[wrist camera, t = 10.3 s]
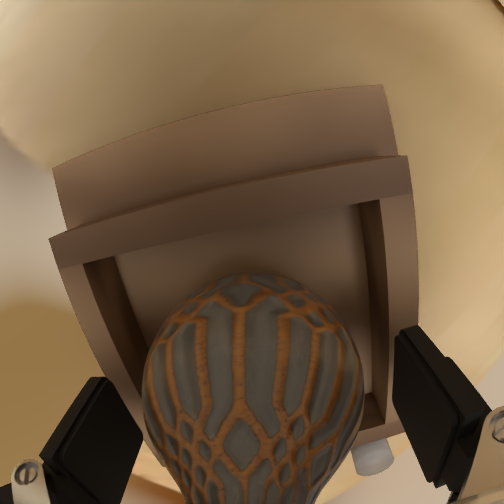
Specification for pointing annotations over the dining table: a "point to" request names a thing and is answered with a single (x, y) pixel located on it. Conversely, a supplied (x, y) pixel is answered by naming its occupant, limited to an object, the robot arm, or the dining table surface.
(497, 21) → the dining table surface
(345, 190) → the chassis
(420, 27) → the dining table surface
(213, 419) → the vase
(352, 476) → the dining table surface
